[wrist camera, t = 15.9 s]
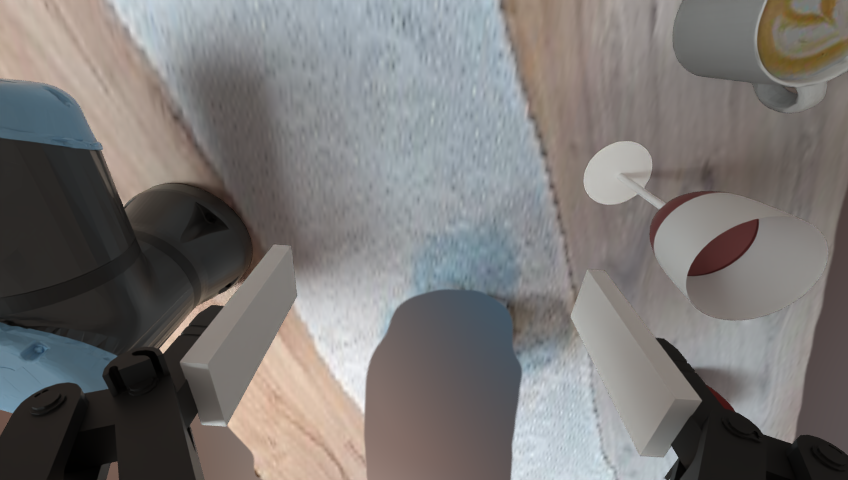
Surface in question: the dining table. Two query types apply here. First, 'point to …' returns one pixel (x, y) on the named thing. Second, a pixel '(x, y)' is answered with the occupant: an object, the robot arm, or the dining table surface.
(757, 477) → the robot arm
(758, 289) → the wineglass
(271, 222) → the dining table surface
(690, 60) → the coffee mug
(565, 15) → the dining table surface
